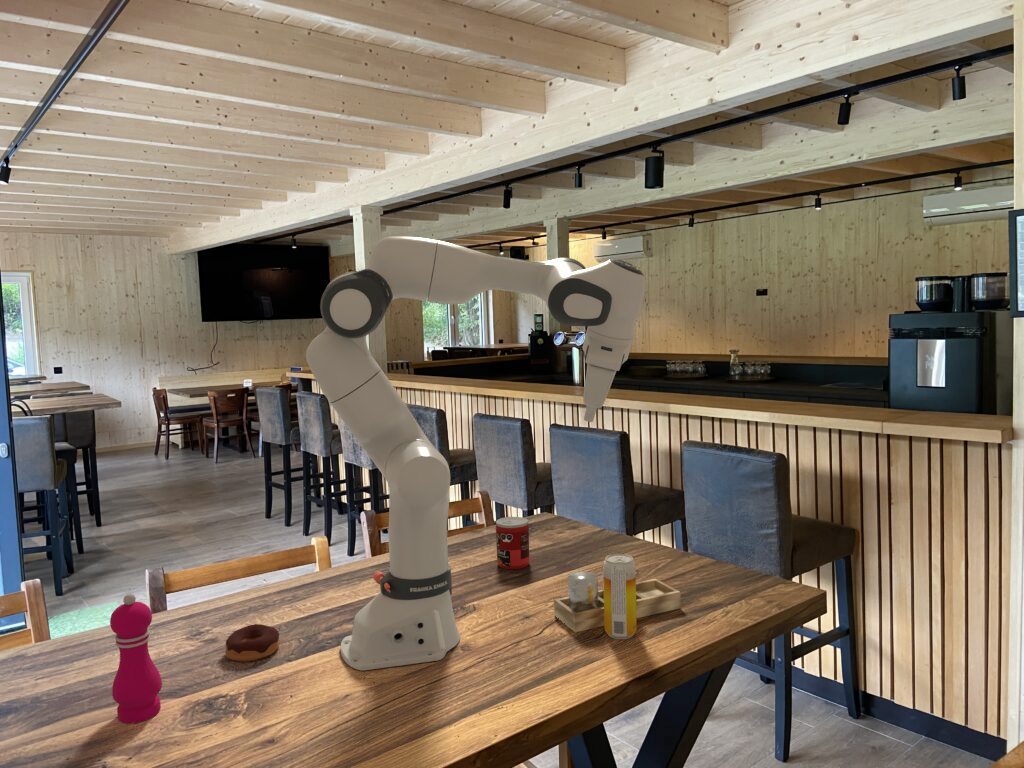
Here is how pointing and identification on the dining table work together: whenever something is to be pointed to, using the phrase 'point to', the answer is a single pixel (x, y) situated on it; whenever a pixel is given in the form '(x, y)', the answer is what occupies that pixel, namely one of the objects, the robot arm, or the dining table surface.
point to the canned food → (512, 542)
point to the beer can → (619, 596)
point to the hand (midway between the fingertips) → (590, 411)
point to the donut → (252, 643)
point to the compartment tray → (648, 602)
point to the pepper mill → (134, 663)
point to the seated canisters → (583, 591)
